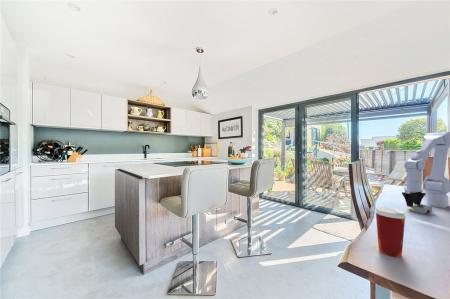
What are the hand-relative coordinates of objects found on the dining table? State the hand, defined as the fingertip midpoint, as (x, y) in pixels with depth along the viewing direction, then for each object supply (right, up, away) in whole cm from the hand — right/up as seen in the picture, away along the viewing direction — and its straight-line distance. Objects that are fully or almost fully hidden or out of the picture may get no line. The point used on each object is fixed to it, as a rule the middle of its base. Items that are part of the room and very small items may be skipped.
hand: (413, 205), depth 100 cm
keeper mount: (+4, -3, +2) cm, 5 cm away
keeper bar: (+1, -1, 0) cm, 1 cm away
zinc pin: (-3, -3, -7) cm, 8 cm away
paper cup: (-51, -3, -41) cm, 66 cm away
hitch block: (-2, -3, -7) cm, 8 cm away
